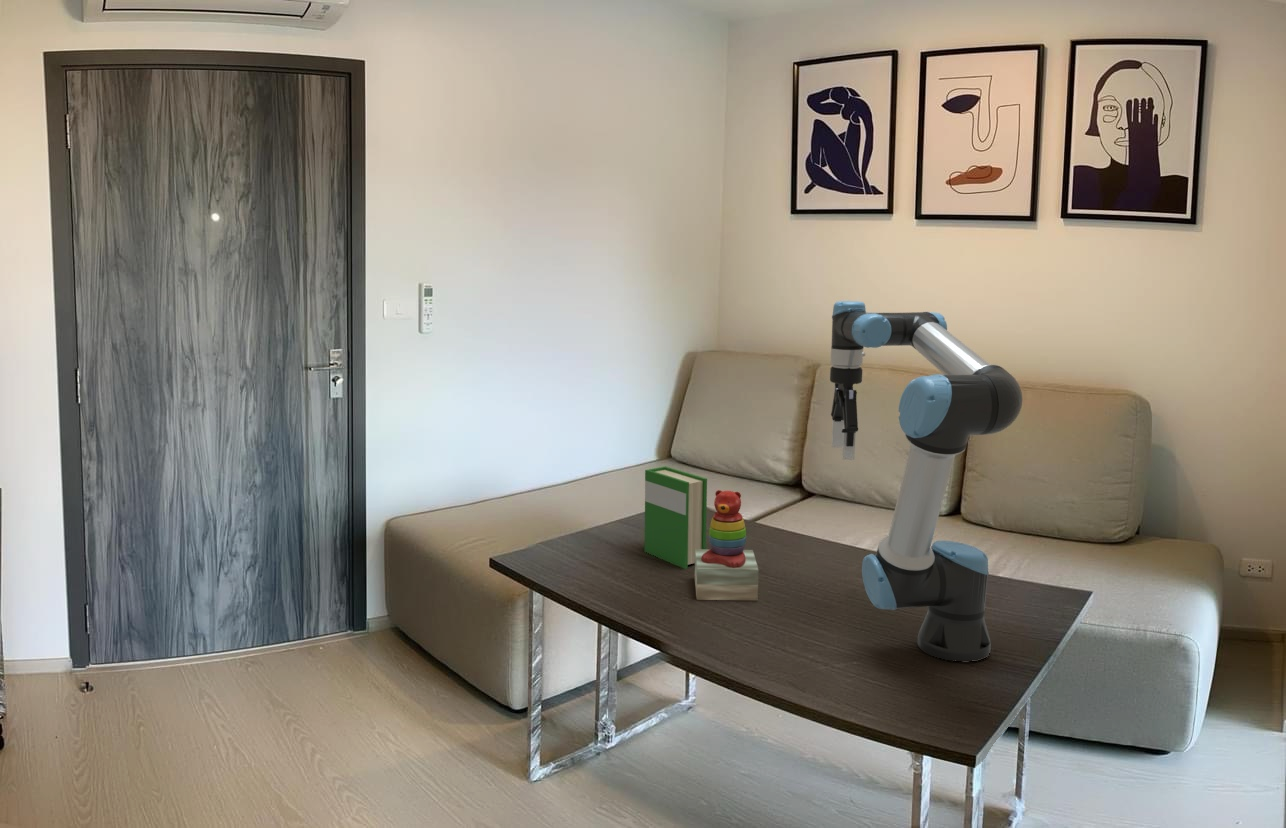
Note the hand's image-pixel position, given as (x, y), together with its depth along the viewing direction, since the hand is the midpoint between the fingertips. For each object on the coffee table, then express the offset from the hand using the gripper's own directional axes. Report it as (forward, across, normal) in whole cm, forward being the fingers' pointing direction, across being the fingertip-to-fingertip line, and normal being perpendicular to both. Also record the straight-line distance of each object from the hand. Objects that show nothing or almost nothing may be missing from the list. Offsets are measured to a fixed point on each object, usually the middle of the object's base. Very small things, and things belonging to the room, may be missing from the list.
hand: (842, 453), depth 230 cm
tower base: (+37, +4, +27) cm, 46 cm away
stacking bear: (+29, +4, +27) cm, 40 cm away
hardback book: (+37, +28, +40) cm, 61 cm away
